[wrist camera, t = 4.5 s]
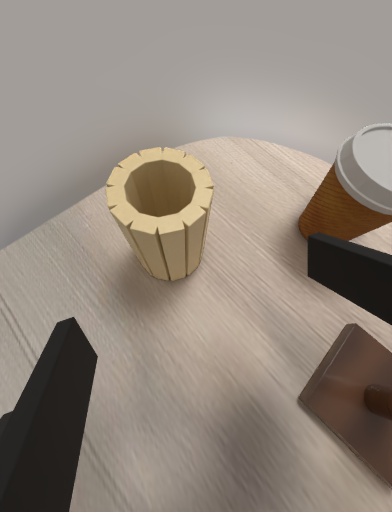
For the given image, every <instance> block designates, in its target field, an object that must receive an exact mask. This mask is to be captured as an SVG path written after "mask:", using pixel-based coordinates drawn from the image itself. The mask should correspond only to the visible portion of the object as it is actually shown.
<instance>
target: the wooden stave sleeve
mask: <svg viewBox="0 0 392 512" xmlns="http://www.w3.org/2000/svg"><path fill="white" fill-rule="evenodd" d="M139 152H140V156H141V157H140V156H139V155H138V154H136V153H134V154H132V155H131V156H129V157H128V158H126V159H124V160H123V161H121V162H120V163H119V164H118V165H119V167H120V168H119V167H115V168H114V169H113V172H112V173H111V175H110V177H109V179H108V181H107V183H106V185H107V187H106V188H105V191H106V197H107V204H108V208H109V209H110V212H111V214H112V215H113V217H114V219H115V220H116V222H117V224H118V226H119V227H120V229H121V231H122V232H123V234H124V236H125V237H126V239H127V241H128V242H129V244H130V246H131V248H132V249H133V251H134V253H135V254H136V256H137V258H138V259H139V261H140V263H141V264H142V266H143V267H144V268H145V269H146V270H147V271H148V272H149V273H150V274H151V275H152V276H153V275H154V277H155V278H159V279H163V280H167V281H169V278H171V281H173V280H177V279H181V278H185V277H186V274H187V275H188V276H189V275H190V274H191V273H192V272H193V271H194V270H195V269H196V268H197V267H198V264H200V261H201V257H202V254H203V249H204V243H205V238H206V232H207V226H208V221H209V215H210V209H211V204H212V198H213V192H214V190H213V187H214V185H213V183H212V180H211V177H210V175H209V172H208V170H207V169H204V167H205V166H204V165H203V164H202V163H201V162H199V161H198V160H197V159H196V158H194V157H193V156H192V155H190V154H188V155H187V156H186V153H185V152H184V151H180V150H175V149H171V148H166V147H165V148H164V151H163V153H162V150H161V147H159V148H152V149H146V150H141V151H139Z"/></svg>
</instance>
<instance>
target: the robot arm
mask: <svg viewBox="0 0 392 512" xmlns="http://www.w3.org/2000/svg"><path fill="white" fill-rule="evenodd" d="M308 277H310V278H312V279H313V280H315V281H317V282H319V283H320V284H322V285H324V286H325V287H327V288H329V289H331V290H332V291H334V292H336V293H337V294H339V295H341V296H342V297H344V298H346V299H348V300H349V301H351V302H353V303H354V304H356V305H358V306H360V307H361V308H363V309H365V310H366V311H368V312H370V313H371V314H373V315H375V316H377V317H378V318H380V319H382V320H383V321H385V322H387V323H389V324H390V325H392V255H390V254H387V253H383V252H380V251H377V250H374V249H371V248H368V247H364V246H361V245H358V244H355V243H352V242H349V241H345V240H342V239H339V238H336V237H333V236H330V235H327V234H323V233H320V232H318V233H315V234H312V235H309V236H308ZM97 358H98V356H97V354H96V353H95V351H94V349H93V348H92V346H91V344H90V343H89V341H88V339H87V338H86V336H85V334H84V333H83V331H82V329H81V328H80V326H79V324H78V323H77V321H76V319H75V318H74V317H72V318H69V319H66V320H63V321H60V322H57V324H56V326H55V328H54V330H53V332H52V334H51V336H50V338H49V340H48V342H47V344H46V346H45V348H44V350H43V352H42V354H41V356H40V358H39V360H38V362H37V364H36V366H35V368H34V370H33V372H32V374H31V376H30V378H29V380H28V382H27V384H26V386H25V388H24V390H23V392H22V394H21V396H20V398H19V400H18V402H17V404H16V406H15V408H14V410H13V411H12V412H9V413H7V414H4V415H3V416H2V417H1V419H0V512H69V509H70V503H71V498H72V493H73V487H74V482H75V476H76V471H77V466H78V460H79V455H80V449H81V444H82V439H83V433H84V428H85V422H86V417H87V412H88V406H89V401H90V395H91V390H92V385H93V379H94V374H95V368H96V363H97Z"/></svg>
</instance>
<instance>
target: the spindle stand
mask: <svg viewBox="0 0 392 512" xmlns="http://www.w3.org/2000/svg"><path fill="white" fill-rule="evenodd" d="M299 399H300V400H301V401H302V402H303V403H304V404H305V405H307V406H308V407H309V408H310V409H311V410H312V411H313V412H314V413H315V414H316V415H317V416H318V417H319V418H320V419H321V420H322V421H323V422H324V423H325V424H326V425H327V426H328V427H329V428H330V429H331V430H332V431H333V432H334V433H335V434H336V435H337V436H338V437H339V438H340V439H341V440H342V441H343V442H344V443H345V444H346V445H347V446H348V447H349V448H350V449H351V450H352V451H353V452H354V453H355V454H356V455H357V456H358V457H359V458H360V459H361V460H362V461H363V462H364V463H365V464H366V465H367V466H368V467H369V468H370V469H371V470H372V471H373V472H374V473H375V474H376V475H377V476H378V477H379V478H380V479H381V480H382V481H383V482H384V483H385V484H386V485H387V486H389V487H390V488H391V489H392V353H391V352H390V351H389V350H388V349H386V348H385V347H384V346H383V345H382V344H380V343H379V342H378V341H377V340H376V339H374V338H373V337H372V336H371V335H369V334H368V333H367V332H366V331H365V330H363V329H362V328H361V327H360V326H359V325H357V324H356V323H355V324H347V325H346V326H345V328H344V329H343V331H342V332H341V334H340V335H339V337H338V338H337V340H336V341H335V343H334V344H333V346H332V347H331V349H330V350H329V352H328V353H327V355H326V356H325V358H324V359H323V361H322V362H321V364H320V366H319V367H318V369H317V370H316V372H315V373H314V375H313V376H312V378H311V379H310V381H309V382H308V384H307V385H306V387H305V388H304V390H303V391H302V393H301V394H300V396H299Z"/></svg>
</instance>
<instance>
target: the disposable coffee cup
mask: <svg viewBox="0 0 392 512" xmlns="http://www.w3.org/2000/svg"><path fill="white" fill-rule="evenodd" d="M390 222H392V124H382V123H381V124H374V125H370V126H367V127H365V128H363V129H361V130H360V131H359V132H358V133H357V134H355V135H353V136H351V137H349V138H347V139H346V140H345V141H344V142H343V143H342V144H341V146H340V148H339V149H338V151H337V156H336V159H335V162H334V164H333V166H332V167H331V168H330V170H329V172H328V173H327V175H326V177H325V178H324V180H323V181H322V183H321V185H320V186H319V188H318V189H317V191H316V192H315V194H314V196H313V197H312V199H311V200H310V203H308V205H307V207H306V209H305V210H304V212H303V213H302V214H301V216H300V218H299V229H300V231H301V233H302V235H303V236H304V238H305V239H306V240H307V241H308V236H309V235H312V234H315V233H318V232H320V233H323V234H327V235H330V236H333V237H336V238H339V239H342V240H345V241H349V240H351V239H354V238H356V237H358V236H360V235H363V234H365V233H367V232H370V231H372V230H374V229H376V228H379V227H381V226H383V225H386V224H388V223H390Z"/></svg>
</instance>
